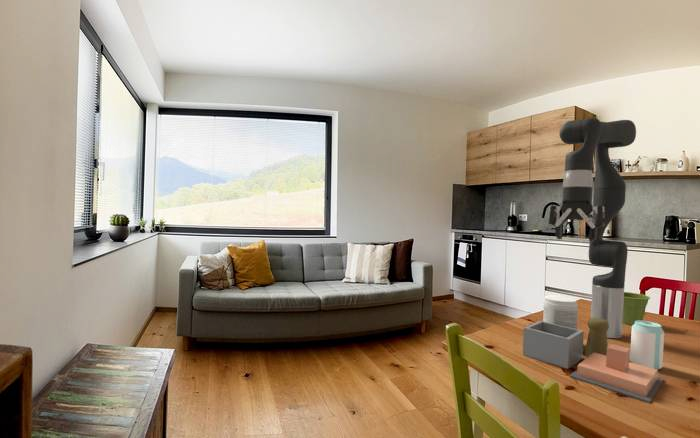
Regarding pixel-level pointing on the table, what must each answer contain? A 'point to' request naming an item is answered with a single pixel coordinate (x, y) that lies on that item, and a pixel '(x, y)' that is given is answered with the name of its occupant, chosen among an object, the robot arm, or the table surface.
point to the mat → (622, 391)
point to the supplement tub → (560, 311)
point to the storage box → (553, 343)
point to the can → (647, 344)
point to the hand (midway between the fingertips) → (574, 240)
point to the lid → (618, 370)
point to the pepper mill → (597, 337)
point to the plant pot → (634, 307)
